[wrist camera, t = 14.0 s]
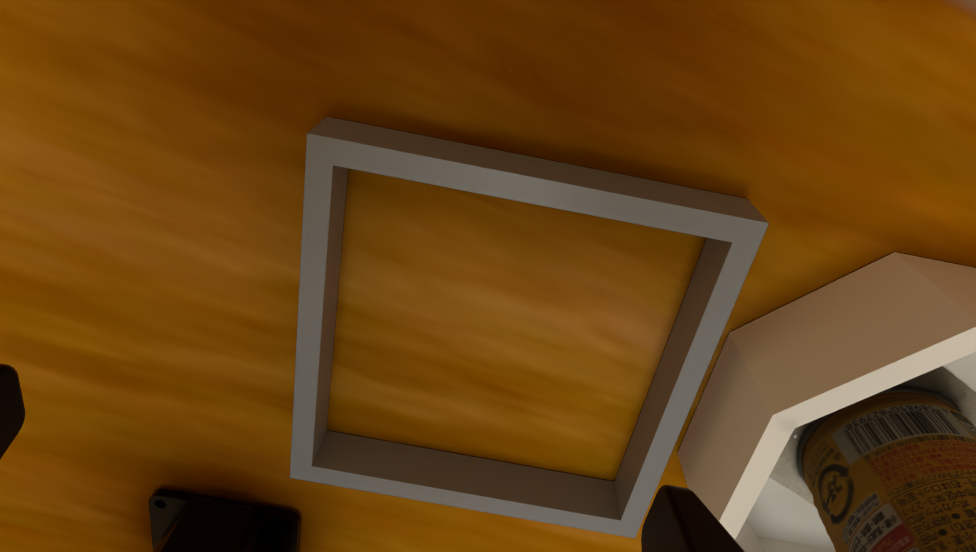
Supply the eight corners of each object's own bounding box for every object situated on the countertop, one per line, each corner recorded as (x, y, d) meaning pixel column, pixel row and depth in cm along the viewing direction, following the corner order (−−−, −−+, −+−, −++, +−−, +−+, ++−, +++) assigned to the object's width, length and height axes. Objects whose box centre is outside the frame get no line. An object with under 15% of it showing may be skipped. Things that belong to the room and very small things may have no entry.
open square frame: (627, 498, 27) (634, 538, 25) (305, 441, 26) (289, 477, 24) (747, 199, 20) (768, 223, 18) (326, 116, 20) (307, 133, 18)
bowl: (958, 578, 28) (1031, 684, 24) (646, 523, 27) (667, 622, 23) (1178, 307, 21) (1329, 390, 17) (774, 228, 21) (833, 296, 17)
